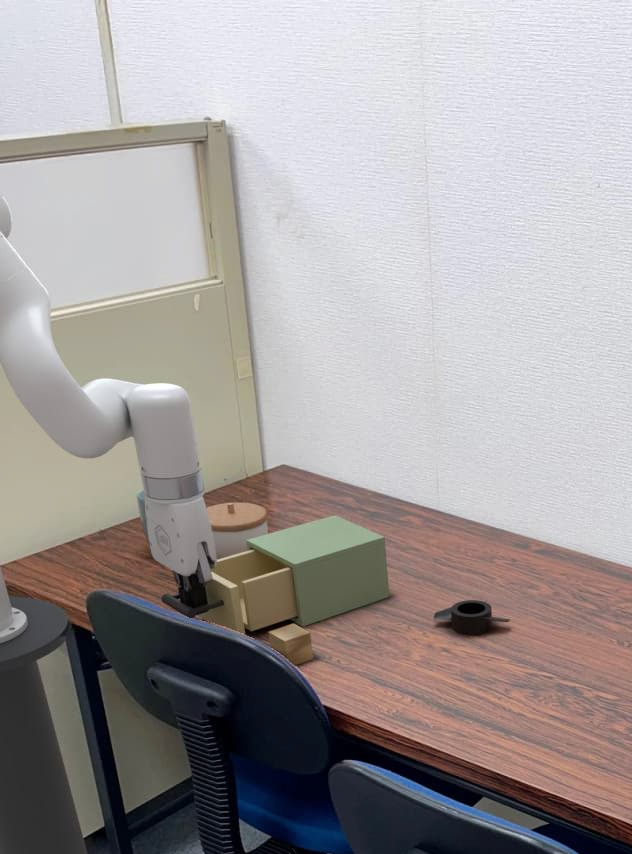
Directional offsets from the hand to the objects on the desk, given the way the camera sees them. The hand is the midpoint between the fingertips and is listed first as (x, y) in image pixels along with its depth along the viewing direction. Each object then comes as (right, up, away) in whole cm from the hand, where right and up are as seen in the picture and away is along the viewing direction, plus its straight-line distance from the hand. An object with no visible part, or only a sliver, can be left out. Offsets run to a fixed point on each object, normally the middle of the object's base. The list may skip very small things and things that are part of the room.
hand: (196, 612), depth 165 cm
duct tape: (+38, -1, +8) cm, 38 cm away
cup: (-14, +14, +29) cm, 35 cm away
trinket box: (-2, +12, +27) cm, 30 cm away
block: (+14, -7, -2) cm, 16 cm away
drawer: (+5, 0, +6) cm, 8 cm away
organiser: (+14, +4, +15) cm, 21 cm away
